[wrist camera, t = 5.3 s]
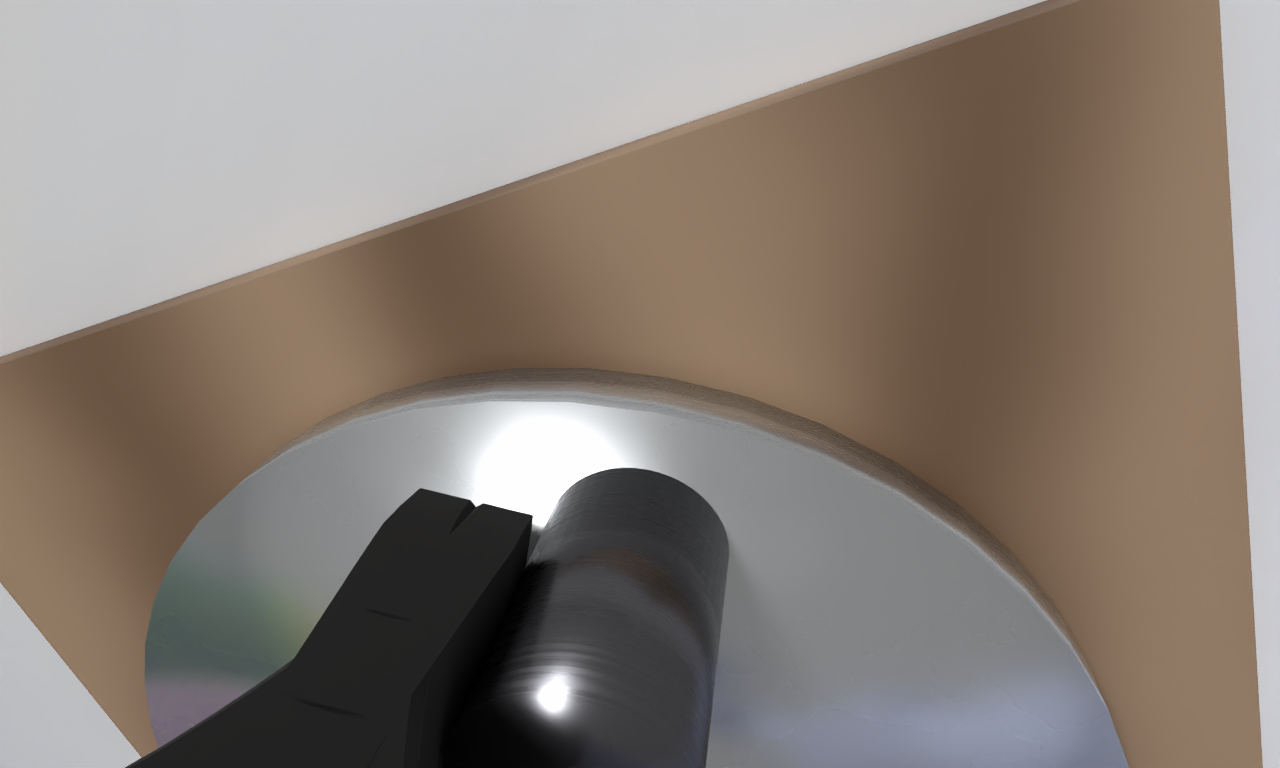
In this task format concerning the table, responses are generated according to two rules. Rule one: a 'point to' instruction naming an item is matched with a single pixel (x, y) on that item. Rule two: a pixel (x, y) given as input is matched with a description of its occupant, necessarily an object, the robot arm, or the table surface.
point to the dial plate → (764, 342)
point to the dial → (651, 586)
